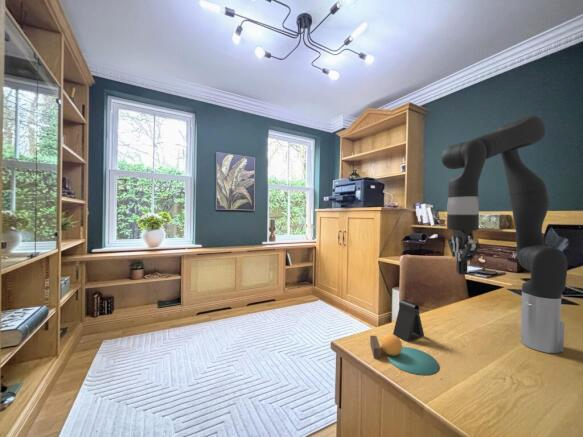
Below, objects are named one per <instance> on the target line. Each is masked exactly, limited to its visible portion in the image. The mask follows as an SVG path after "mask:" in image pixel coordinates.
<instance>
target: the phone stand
mask: <svg viewBox="0 0 583 437" xmlns="http://www.w3.org/2000/svg"><path fill="white" fill-rule="evenodd" d="M394 324H395V325H394V328H393V332H392V334H393V335H395V336H397V337H398V338H399V339H400V340H403V341H405V342H407V343H410V342H413V341H415V340H418V339H421V338H423V337H425V333H424V329H423V324H422V320H421V314H420V305H419V304H416V303H414V302H410V301H408V300H405V299H401V300H400V301H399V303H398V311H397V316H396V321H395V323H394Z"/></svg>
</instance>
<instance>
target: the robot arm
mask: <svg viewBox="0 0 583 437" xmlns="http://www.w3.org/2000/svg"><path fill="white" fill-rule="evenodd" d="M545 135H546V125H545V122H544V121H543V120H542V118H541V117H539V116H536V115H527V116H524V117H522V118H519V119H516V120H514V121H511V122H508V123H506V124H502V125H501V126H499V127H498V129H497V131H493V132H489V133H487V134H483V135H480V136H477V137H475V138H473V139H470V140H467V141H463V142H459V143H454V144H451V145H449V146H448V147H446V148H445V149H444V150H443V152H442V153H441V158H440V159H441V163H442V165H443V166H444V167H445V168H447V169H449V170H460V169H463V170H462V171H461V173H460V174H459V175H457V176H453V177H451V178H450V179H449V180H448V183H447V184H448V186H447V188H448V190H447V191H448V192H447V197H448V198H447V205H446V229H447V230H450V231H452V233H451V239H450V238H449V239H448V240H447V243H448V246H449V247H448V248H449V250H450V252H451V256H452V258H454V259H455V261H456V271H455V272H456V273H457V274H459V275H461V276H462V275H463V276H465V275H467V274H468V262H469V261H473V259H474V257H475V255H476V254H477V252H478V249H479V248H480V244H479V243H475V242H474V231H478V230H479V229H480V228H479V227H480V224H479V223H480V221H479V220H480V204H479V180H480V178H481V174H482V171H483V168H484V165H485V162H486V160H487V159H490V158H492V157H495V156H498V155H500V156H501V160H502V164H503V167H504V170H505V171H504V172H505V176H506V180H507V182H506V183H507V187H508V195H509V201H510V206H511V211H512V216H513V222H514V227H515V228H514V229H515V238H516V239H515V240H516V242H515V243H516V257H517V261H518V264H519V265H520V266H521V267H522V268H524V269H525V270H527V271H530V279H529V281H526V282H525V281H524V282H523V283H522V284H521V315H520V316H521V318H520V320H521V321H520V343H522V344H523V345H524V346H526V347H528V348H530V349H533V350H535V351H539V352H542V353H547V354H559V353H564V351H565V322H564V321H563V320H561V319H562V318H561V317H562V294H563V292H564V290H565V289H566V285H567V278H568V277H567V275H568V259H567V256H566V255H565V253H564V252H563V251H562V250H560V249H558V248H556V247H552V246H547V245H546V244H545V241H544V237H543V224H544V221H545V220H546V216H547V214H548V211H549V210H548V209H549V206H550V202H549V200H550V199H549V196H548V195H549V194H548V191H547V185H546V183H545V181H544V180H543V179H542V178H541V177H539V176H538V175H537V173H535V172H534V171H532V170H531V169H530V168H528V166H526V164H525V163H524V162H523V161H522V159H521V157H520V154H519V150H518V149H522V148H525V147H529V146H532V145H535V144H538V143H539V142H540V141H542V140H543V138H544V137H545Z"/></svg>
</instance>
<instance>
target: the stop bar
mask: <svg viewBox="0 0 583 437" xmlns="http://www.w3.org/2000/svg"><path fill="white" fill-rule="evenodd" d="M369 338H370V340H369V345H370V348H371V353H372V356H373V359H382V349H381V348H382V347H381V344H380V342H379V339H378V336H377V335H370V337H369Z"/></svg>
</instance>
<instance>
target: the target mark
mask: <svg viewBox="0 0 583 437" xmlns="http://www.w3.org/2000/svg"><path fill="white" fill-rule="evenodd" d="M386 359H387V360H388V361H389V363H390V364H391V365H393V366H394V367H395V368H397V369H399V370H401V371H404V372H405V373H408V374H414V375H419V376H429V375H433V374H435V373H437V372H438V371H439V369H440V366H439V363H438V361H437V359H436V358H434V356H432V355H430V354H429V353H427V352H425V351H422V350H421V349H418V348H413V347H407V346H402V350H401V352H400V353H399V354H398V355H396V356H391V355H388V354H387V353H386Z"/></svg>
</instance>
